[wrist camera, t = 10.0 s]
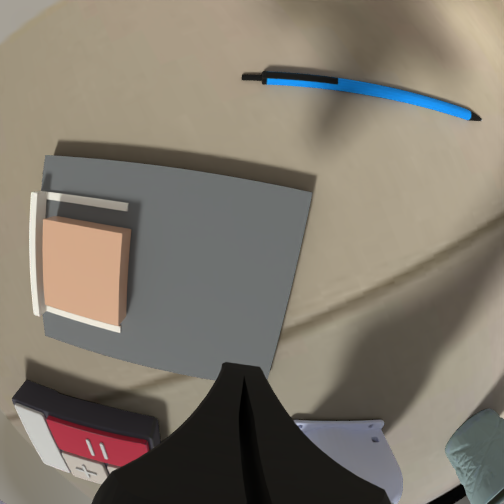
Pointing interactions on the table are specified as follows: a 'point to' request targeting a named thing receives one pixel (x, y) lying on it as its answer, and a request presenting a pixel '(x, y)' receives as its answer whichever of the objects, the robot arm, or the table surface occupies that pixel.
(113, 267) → the tile
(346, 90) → the pen
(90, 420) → the calculator
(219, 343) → the mat
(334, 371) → the table surface
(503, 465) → the green cup
